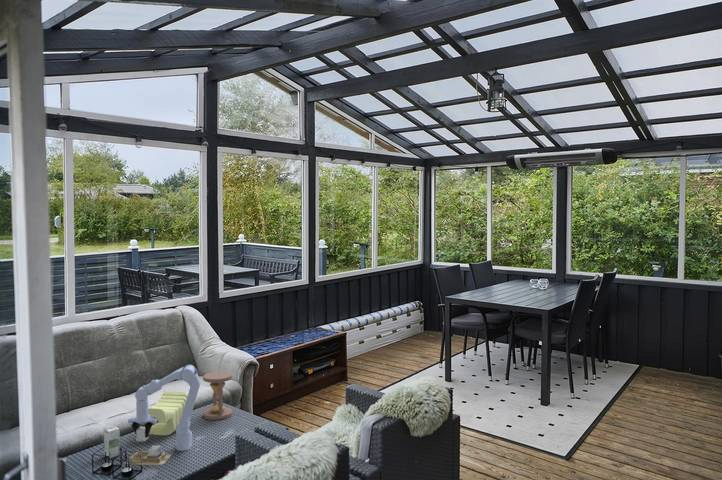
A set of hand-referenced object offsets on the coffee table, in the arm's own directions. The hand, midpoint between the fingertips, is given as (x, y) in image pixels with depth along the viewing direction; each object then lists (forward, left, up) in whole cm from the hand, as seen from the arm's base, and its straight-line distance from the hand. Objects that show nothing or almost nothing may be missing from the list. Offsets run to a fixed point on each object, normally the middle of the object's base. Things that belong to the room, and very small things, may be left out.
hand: (142, 436), depth 288 cm
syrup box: (+5, -14, -9) cm, 17 cm away
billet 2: (+10, +10, -7) cm, 16 cm away
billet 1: (0, 0, -2) cm, 2 cm away
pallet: (+10, +7, -8) cm, 15 cm away
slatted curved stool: (-30, 0, -9) cm, 31 cm away
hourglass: (-56, +23, -9) cm, 61 cm away
